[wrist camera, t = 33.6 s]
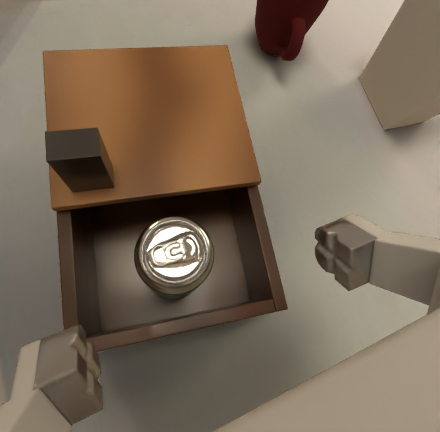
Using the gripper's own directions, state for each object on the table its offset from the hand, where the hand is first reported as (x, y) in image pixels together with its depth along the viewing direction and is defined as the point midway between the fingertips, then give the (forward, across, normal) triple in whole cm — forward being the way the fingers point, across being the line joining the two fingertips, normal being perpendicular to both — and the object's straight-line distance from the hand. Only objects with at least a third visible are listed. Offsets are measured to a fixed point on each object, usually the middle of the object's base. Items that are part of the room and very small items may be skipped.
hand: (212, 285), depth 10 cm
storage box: (+18, 0, +12) cm, 22 cm away
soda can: (+16, 0, +12) cm, 21 cm away
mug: (+33, -23, -3) cm, 41 cm away
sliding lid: (+20, -2, -1) cm, 20 cm away
